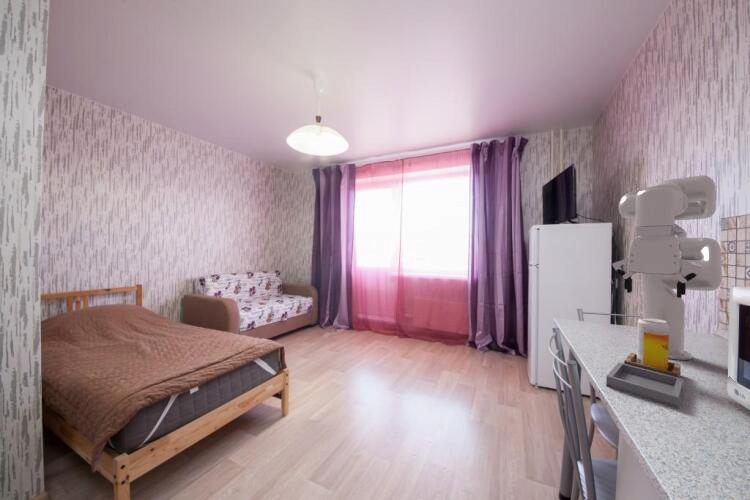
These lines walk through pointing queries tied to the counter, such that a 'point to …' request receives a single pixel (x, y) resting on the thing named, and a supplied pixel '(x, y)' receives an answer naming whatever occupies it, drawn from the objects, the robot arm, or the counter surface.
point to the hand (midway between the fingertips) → (653, 294)
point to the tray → (646, 384)
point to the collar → (672, 367)
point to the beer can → (653, 343)
